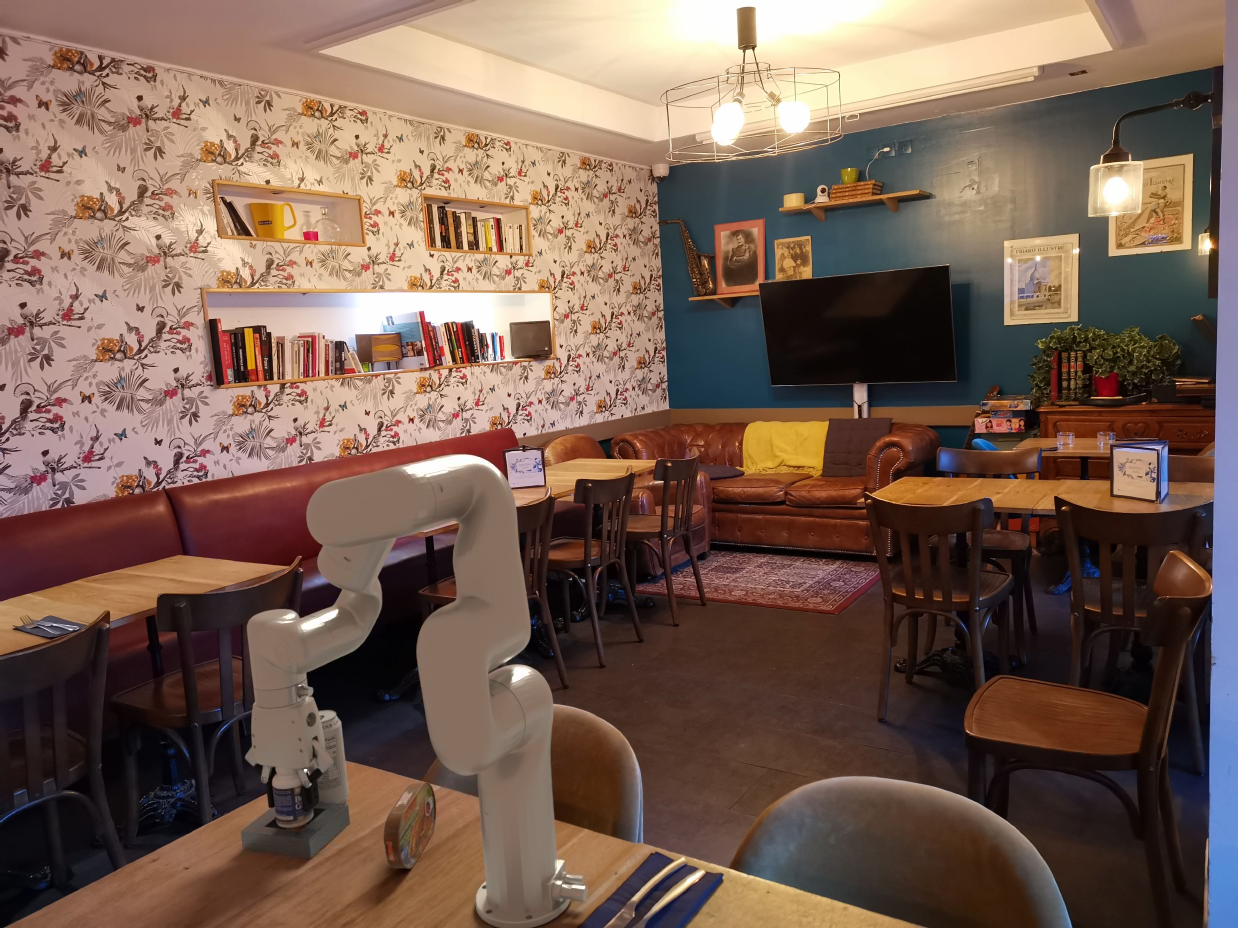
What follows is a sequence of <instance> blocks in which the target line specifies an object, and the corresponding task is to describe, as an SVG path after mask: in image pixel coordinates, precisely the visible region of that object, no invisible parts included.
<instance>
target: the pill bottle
mask: <svg viewBox="0 0 1238 928" xmlns="http://www.w3.org/2000/svg"><path fill="white" fill-rule="evenodd" d="M307 771H308V770H307ZM276 772H277V774H276V775H275V776H274V777H273V780H272V786H273V794H274V803H275V813H276V821H277V824H278V825H279V826H280V827H283V828H286V829H292V828H297V827H298V828H299V827H301V826H304V825H307V824H306V823H307V822H309V821H310V820H311V819H312V817H313V808H312V809H311V810H310V811H308V812H304V811H303V809H302V800H301V791H300V789H301V787H302V786H304V785H303V783H302V780H301V778H300V775H299V773H298V770H297V769H291V768H283V767H276ZM308 774H309V772H308Z"/></svg>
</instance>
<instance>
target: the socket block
mask: <svg viewBox="0 0 1238 928" xmlns="http://www.w3.org/2000/svg"><path fill="white" fill-rule="evenodd" d="M349 808H350V807H349V804H345V803H344V804H335V803H325V802H319V803H318V804H317V805H316V806H314V807H313V817H312V819H311V820H310V821H309V822H307V823H306V824H305V825H306V826H305V827H304V828H303V829H301V830H295V829H287V828H283V827H280V826H279V825H278V824H277V821H276V813H275V807H274V808H269V809H267V810H266V811H265V812H264V813H262V814H261V815H260V816H258V817H257V818H256V819H255V820H253V821H252V822H251V823H249V824H247V826H246V827H244V828H243V829H241V830H240V836H241V843H242V846H241V847H242V850H243V851H248V852H256V853H264V854H273V855H280V856H287V857H297V858H303V859H312V858H313V857H315V855H317V854H318V853H319V852H320V851H321V850H322V849H324V847H326V846H327V845H328V844H329V843H330V842H331V841H332V840H334V839H335V837H336V836H338V835H339V834H340V833H341V832H342V831H343V830H344V829H345V828H346V827H347V826H348V825H349V824H351V819H350V810H349Z"/></svg>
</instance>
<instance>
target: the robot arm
mask: <svg viewBox="0 0 1238 928" xmlns="http://www.w3.org/2000/svg"><path fill="white" fill-rule="evenodd" d="M305 515H306V523H307V529H308V531H309V533H310V535H311V536H312V538H313V539H314V540H315V541H316V542H317V543H318V544H321V545H322V547H321V549H320V551H319V552H318V553H319V554H318V556H317V562H316V563H317V568H318V571H319V573H320V574H321V575H322V577H323V578H324V579H325V580H326V582H328V583H330V584H331V585H332V586H335V587H337V588H339V589H341V592H340V594H339V595H338V597H337V599H336V601H335V602H334V604H333V605H332V606H330V607H327V608H324V609H321V610H318V611H316V612H313V613H311V614H309V615H305V616H304V617H300V616H299V614H298V613H297V612H296V611H294V610H293V609H287V608H283V609H282V608H278V609H276V608H275V609H270V610H265V611H262V612H259V613H256V614H254V615H253V616H252V617H250V619H248V622H247V624H246V632H247V633H246V634H247V642H248V649H249V660H250V668H251V669H250V670H251V677H252V685H253V693H254V694H253V695H254V702H253V704H252V710H251V726H250V728H251V729H250V730H251V732H250V733H251V747H250V748H249V750H248V752H247V753H246V754H245V757H244V759H245V760H246V761H247V762H248V763H249V764H250V765H251V766H253V769H254V770H255V772H256V773H258V774H259V776H260V780H261V782H262V783H263V784H265V789H266V797H267V807H268V808H269V809H270V808H274V807H275V803H274V794H273V786H272V780H273V777H274V776H275V775H276V774H277V772H276V767H283V768H291V769H297V770H298V773H299V775H300V778H301V780H302V783H303V785H304V786H302V787H301V789H300V791H301V800H302V809H303V811H304V812H308V811H310V810H311V809H312V808H313V807H314V806H316V805H317V804H318V803H319V792H318V783H317V780H318V779H320V777H321V776H322V775H323V774H324V772H325V771H326V770H327V769H328V768H329V767H330V766H331V765H333V763H334V761H333V759H332V758H331V757H330V756H329V755H328V753H327V752H326V751H325V741H324V735H323V729H322V724H321V720H320V716H319V712H318V711H319V709H318V707H317V704H316V701H315V698H314V697H313V696H312V695H313V693H314V688H313V687H311V686H308V678H307V673H308V672H309V673H310V672H311V671H314V670H316V669H318V668H319V667H322V666H324V665H327V664H328V663H330V662H333V661H335V660H337V659H339V658H341V657H344V656H346V655H348V654H350V653H352V652H354V651H356V650H357V649H358V648H359V647H360V646H361V645H362V644H363V643H364V642H366V639H367V637H368V636H369V635H370V633H371V632H372V629H373V627H374V626H375V624H376V621H377V619H378V618H379V615H380V613H381V610H382V607H383V591H382V584H381V583H380V580H379V578H378V577H379V574H380V572H382V568H383V567H384V565H385V562H386V560H387V558H388V557H389V555H390V553H391V551H392V550H393V547H394V544H395V543H396V541H397V539H398V538H403V537H409V536H412V535H416V534H419V533H421V532H424V531H427V530H430V529H434V528H436V527H440V526H443V525H446V524H448V523H451V522H456V523H457V524H458V526H459V527H458V532H457V535H456V536H455V541H454V547H453V553H452V554H453V555H452V565H453V573H454V577H455V585H456V587H455V588H456V599H455V600H454V601H452V602H450V603H448V604H446V605H444V606H442V607H440V608H438V609H437V610H435V611H433V612H432V613H431V614H430V615H429V616H428V617H427V618H426V619H425V620H424V622H423V624H422V626H421V628H420V631H419V634H418V636H417V640H416V641H417V642H416V660H417V662H416V663H417V668H418V676H419V681H420V687H421V695H422V701H423V706H424V712H425V714H424V715H425V719H426V724H427V730H428V734H429V736H428V737H429V738H430V739H429V740H430V743H431V746H432V748H433V750H434V752H435V755H436V757H437V758H438V760H439V761H440V762H441V763H442V765H443V766H444V768H446V769H447V770H449V771H450V772H452V773H455V774H456V775H460V776H473V775H477V790H478V791H477V792H478V794H477V795H478V805H479V815H480V816H479V817H480V819H479V820H480V829H481V841H482V842H481V843H482V853H483V855H482V856H483V864H484V865H483V866H484V876H485V881H484V882H483V883H482V884H481V885H480V887H479V888H478V889H477V892H476V894H475V910H476V912H477V915H478V916H479V917H480V919H481V920H482V921H484V922H485V923H487V924H489V925H491V926H493V927H496V928H534V927H538V926H542V925H544V924H547V923H549V922H551V921H552V920H555V919H556V918H558V917H559V916H560V915H561V914H562V913H563V912H564V911H565V910H566V909H567V907H569V904H570V902H572V901H573V902H579V903H586V902H587V899H588V897H589V896H588V895H589V887H588V886H587V885H585V882H586V878H585V877H586V876H584V875H581V874H579V875H578V874H569V872H567V871H566V865H565V864H566V862H565V860H564V859H558V853H557V839H556V837H557V836H556V825H555V824H556V823H555V812H554V811H555V810H554V798H553V797H554V795H553V781H552V765H551V761H552V760H551V747H552V746H551V744H552V743H551V741H552V731H553V720H554V700H553V699H554V698H553V694H552V690H551V688H550V685H549V683H548V682H547V680H546V678H545V677H544V676H543V674H542V673H540V672H539V671H538V670H537V669H535V668H533V667H531V666H528V665H525V664H517V663H516V664H510V665H506V666H503V667H499V666H501V665H504V664H505V663H506V662H508V661H509V660H511V659H512V658H515V657H516V656H518V654H520V653H521V652H522V651H523V650H524V649H525V648H526V647H527V645H529V642H530V639H531V634H532V633H531V632H532V630H531V629H532V626H531V617H530V609H529V603H528V597H527V589H526V583H525V582H526V581H525V575H524V567H523V563H522V558H521V557H522V556H521V552H520V551H521V550H520V543H519V529H518V528H519V527H518V524H519V523H518V512H517V505H516V500H515V495H514V493H513V489H512V487H511V485H510V483H509V481H508V480H507V478H506V477H505V475H504V474H503V472H502V471H501V470H500V469H498V467H497V466H495V465H494V464H493V463H491V462H490V461H489V460H486V459H484V458H482V457H479V456H477V455H472V454H465V453H463V454H459V453H457V454H456V453H455V454H447V455H441V456H435V457H431V458H428V459H423V460H419V461H415V462H409V463H406V464H400V465H396V466H391V467H388V468H384V469H380V470H376V471H372V472H368V473H363V474H359V475H354V476H350V477H345V478H341V479H337V480H332V481H328V482H326V483H324V484H322V485H320V487H318V488H317V489H316V490H315V491H314V493H313V494H312V495H311V497H310V499H309V501H308V504H307V507H306V514H305ZM498 667H499V668H498ZM496 668H498V669H496ZM493 670H494V671H493ZM314 758H316V760H317V761H318V762H319V766H318V767H317V765H316V762H315V760H314ZM307 768H309V771H310V773H311V774H310V775H309V774H308V771H307Z"/></svg>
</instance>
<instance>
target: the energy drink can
mask: <svg viewBox="0 0 1238 928" xmlns="http://www.w3.org/2000/svg"><path fill="white" fill-rule="evenodd" d="M318 712H319V716H320V720H321V724H322V729H323V735H324V741H325V751H326V752H327V753H328V755H329V756H330V757H331V758H332V759H333V761H334V763H333V765H331V766H330V767H329V768H328V769H327V770H326V771H325V772H324V774H323V775H322V776H321V777H320V779H318V780H317V783H318V792H319V802H325V803H335V804H344V805H345V803H346V801H347V798H348V796H349V793H350V792H349V791H350V790H349V782H348V774H347V765H346V756H345V753H346V752H345V746H344V745H345V744H344V737H343V728H342V721H341V720H340V718H339V717H338V716H337V712H336V711H334V710H332V709H325V710H318ZM314 760H315V762H316V765H317V767H318V766H319V762H318V761H317V760H316V758H314ZM307 770H308V772H309V775H310V774H311V773H310V771H309V768H307Z"/></svg>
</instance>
